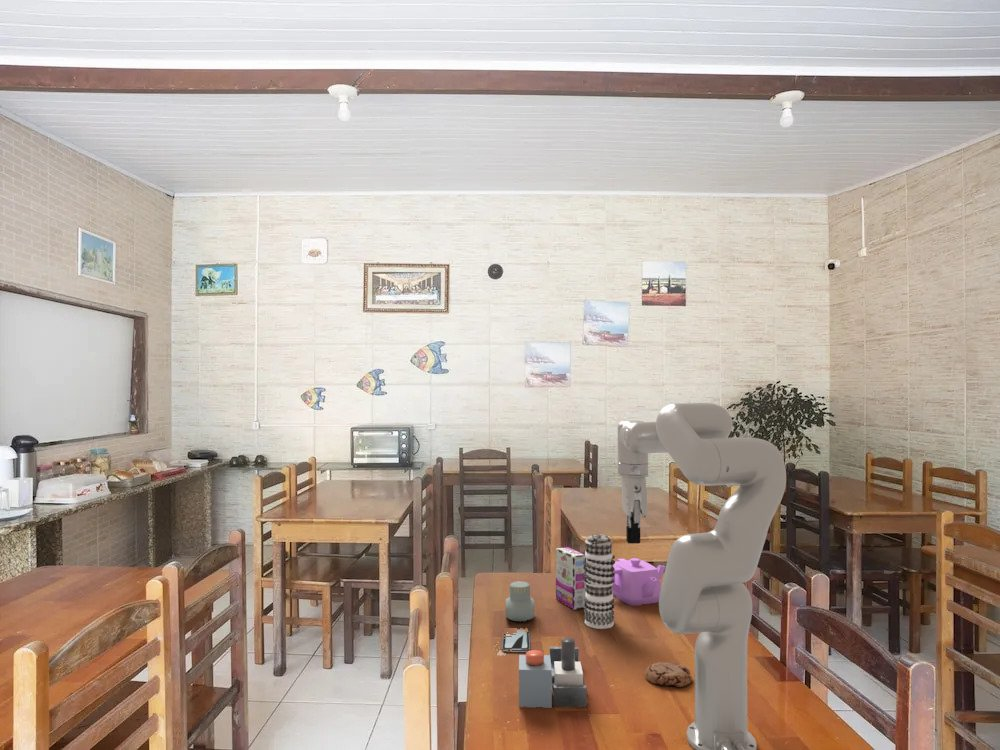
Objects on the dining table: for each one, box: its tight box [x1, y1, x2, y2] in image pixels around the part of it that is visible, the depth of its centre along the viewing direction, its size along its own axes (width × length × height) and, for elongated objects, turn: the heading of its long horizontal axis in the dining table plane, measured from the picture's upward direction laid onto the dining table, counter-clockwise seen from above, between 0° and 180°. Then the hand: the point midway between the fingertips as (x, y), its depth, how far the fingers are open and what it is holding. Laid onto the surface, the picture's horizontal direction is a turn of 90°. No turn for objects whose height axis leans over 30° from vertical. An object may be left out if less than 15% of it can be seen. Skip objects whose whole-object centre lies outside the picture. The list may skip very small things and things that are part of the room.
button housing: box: [518, 654, 553, 709], centre depth 131 cm, size 7×7×8 cm
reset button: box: [525, 649, 545, 665], centre depth 131 cm, size 4×4×6 cm
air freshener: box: [505, 580, 535, 623], centre depth 176 cm, size 11×8×10 cm
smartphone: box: [501, 628, 531, 651], centre depth 161 cm, size 7×1×15 cm
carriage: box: [552, 637, 586, 694], centre depth 133 cm, size 6×7×10 cm
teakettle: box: [612, 557, 666, 606], centre depth 193 cm, size 17×17×12 cm
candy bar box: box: [555, 546, 586, 611], centre depth 188 cm, size 11×5×16 cm, turn 25°
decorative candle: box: [583, 533, 616, 630], centre depth 173 cm, size 9×9×25 cm
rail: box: [549, 646, 588, 708], centre depth 138 cm, size 20×7×4 cm, turn 178°
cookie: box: [645, 662, 693, 688], centre depth 140 cm, size 10×11×3 cm
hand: (633, 542), depth 151 cm, fingers closed
